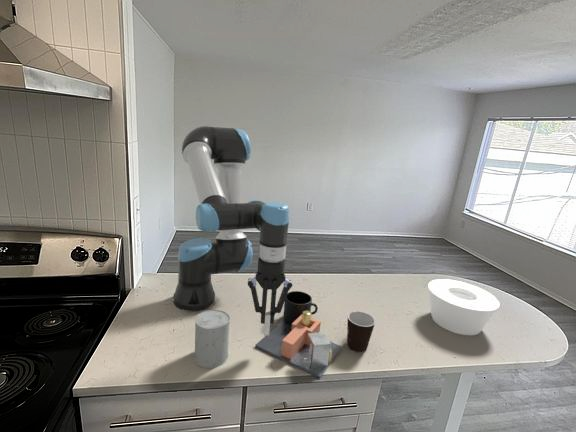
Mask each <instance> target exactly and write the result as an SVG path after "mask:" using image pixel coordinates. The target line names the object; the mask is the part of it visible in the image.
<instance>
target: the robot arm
mask: <svg viewBox="0 0 576 432" xmlns="http://www.w3.org/2000/svg"><path fill="white" fill-rule="evenodd" d="M251 151H252V150H251V141H250V138H249V135H248V134H247V133H246V131H244V130H243V129H239V128H238V129H237V128H233V127H231V128H230V127H219V126H217V127H215V126H208V125H204V126H198V127H196V128H193V130H191V131H190V132H189V133H187V135H186V136H185V138H184V140H183V141H182V144H181V154H182V157H183V159H184V161H185V163H187V164H188V167H189V170H190V174H191V176H192V180H193V183H194V186H195V187H194V188H195V191H196V194H197V196H198V201H199V204H198V205H197V207H196V209H195V220H196V222H195V223H196V226H197V229H198V230H199V231H201V232H219V233H218V234H217V235H216V236H215V242H212V240H211V239H209V238H203V237H200V238H199V237H198V238H192V239H188V240H186V241H184V242H183V243H182V244H180V246H179V248H178V254H177V261H178V265H177V266H178V268H177V269H178V270H177V271H178V274H177V275H178V280H177V281H178V282H177V285H176V288H175V291H174V293H173V295H172V296H173V297H172V298H173V299H172V301H173V303H172V304H173V305H174V307H175V308H177V309H179V310H181V311H184V312H185V311H186V312H198V311H202V310H203V311H204V310H206V309H208V308H210V307H212V306H213V305H214V304H215V302H216V293H215V290H214V286H213V283H212V275H218V274H224V273H225V274H227V273H233V272H234V273H237V272H241V271H245V270H247V269H248V268H249V267H250V265H251V264H252V260H253V247H252V246H253V245H252V242H251V241H250V240H248V239H247V238H248V237H247V235H246V234H245V233H244V232H243V231H244V230H248V229H249V230H251V229H256V230H258V231H259V241H258V243H259V244H258V260H257V272H256V273H255V276H254V277H252V278H251V277H249V278H247V279H248V280H247V286H248V287H249V289H250V291H251V296H252V300H253V301H252V303H253V306H254V310H255V313H257V314H258V313H259V314H260V324H261V325H263V335H264V336H266V335H269V333H270V328H271V327H270V326H271V325H273V324H274V323H275V315H276V314H281V312H282V311H283V308H284V304H285V299H286V296H287V293H289V292H290V289H292V287H293V281H292V279H288V278H286V274H285V270H286V269H285V267H286V254H287V253H286V252H287V243H288V233H289V221H290V207H289V206H288V204H286V203H284V202H279V201H267V202H263V201H261V200H256V199H253V200H250V201H248V202H243V194H242V193H243V190H242V185H243V184H242V181H243V180H242V170H243V168H244V167H245V166H246V162H247V161H249V159H250V157H251ZM216 168H217V171H216ZM217 172H218V173H217ZM257 283H258V285H259V286H260V287H261V288H262V293H261V294H262V296H261V305H260V302H259V296H258V291H257V287H256V286H257ZM282 284H283V287H282V290H281V293H280V296H279V298H278V301H277V304H276V299H277V290H278V289H279V288H280V287H281V286H282ZM269 290H271V293H270V310H267V300H268V299H267V298H268V291H269Z"/></svg>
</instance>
